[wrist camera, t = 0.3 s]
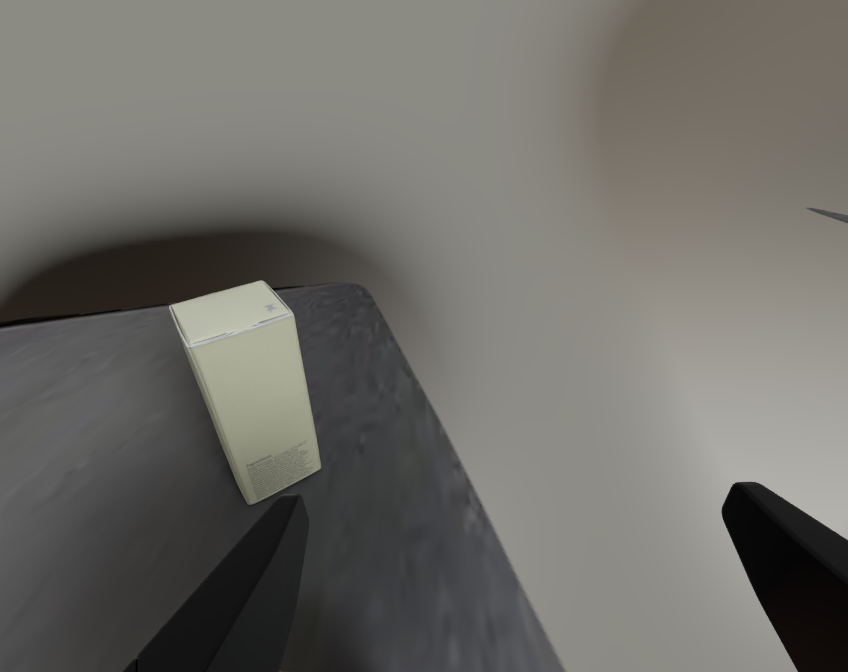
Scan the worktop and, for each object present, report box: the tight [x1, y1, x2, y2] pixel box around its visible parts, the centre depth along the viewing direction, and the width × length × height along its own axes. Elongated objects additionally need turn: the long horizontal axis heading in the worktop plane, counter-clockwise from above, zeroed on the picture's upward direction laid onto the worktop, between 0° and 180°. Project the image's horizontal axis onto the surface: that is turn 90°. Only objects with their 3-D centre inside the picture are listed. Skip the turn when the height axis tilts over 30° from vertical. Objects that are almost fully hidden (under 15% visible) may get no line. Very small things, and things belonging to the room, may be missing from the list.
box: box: [169, 281, 321, 505], centre depth 25 cm, size 5×4×13 cm
